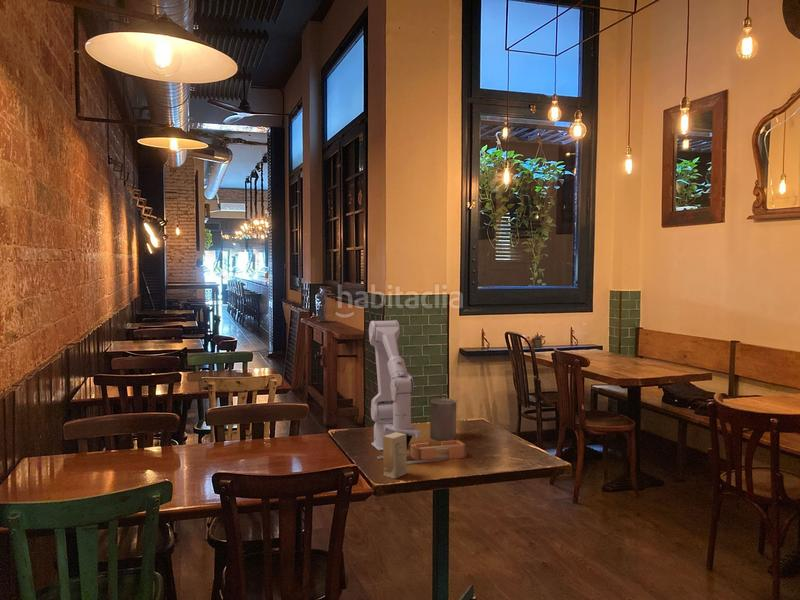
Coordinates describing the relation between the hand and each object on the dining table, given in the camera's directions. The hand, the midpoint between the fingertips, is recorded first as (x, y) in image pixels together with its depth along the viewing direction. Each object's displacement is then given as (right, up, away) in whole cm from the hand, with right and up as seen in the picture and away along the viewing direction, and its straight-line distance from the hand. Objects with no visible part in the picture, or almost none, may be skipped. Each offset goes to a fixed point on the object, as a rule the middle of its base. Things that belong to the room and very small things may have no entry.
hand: (402, 456), depth 201 cm
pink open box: (+17, -1, +6) cm, 18 cm away
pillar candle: (+15, -1, +30) cm, 33 cm away
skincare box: (-2, -2, -15) cm, 16 cm away
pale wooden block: (+12, -2, +4) cm, 13 cm away
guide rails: (+3, -1, +1) cm, 4 cm away
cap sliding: (+7, -1, +2) cm, 7 cm away
